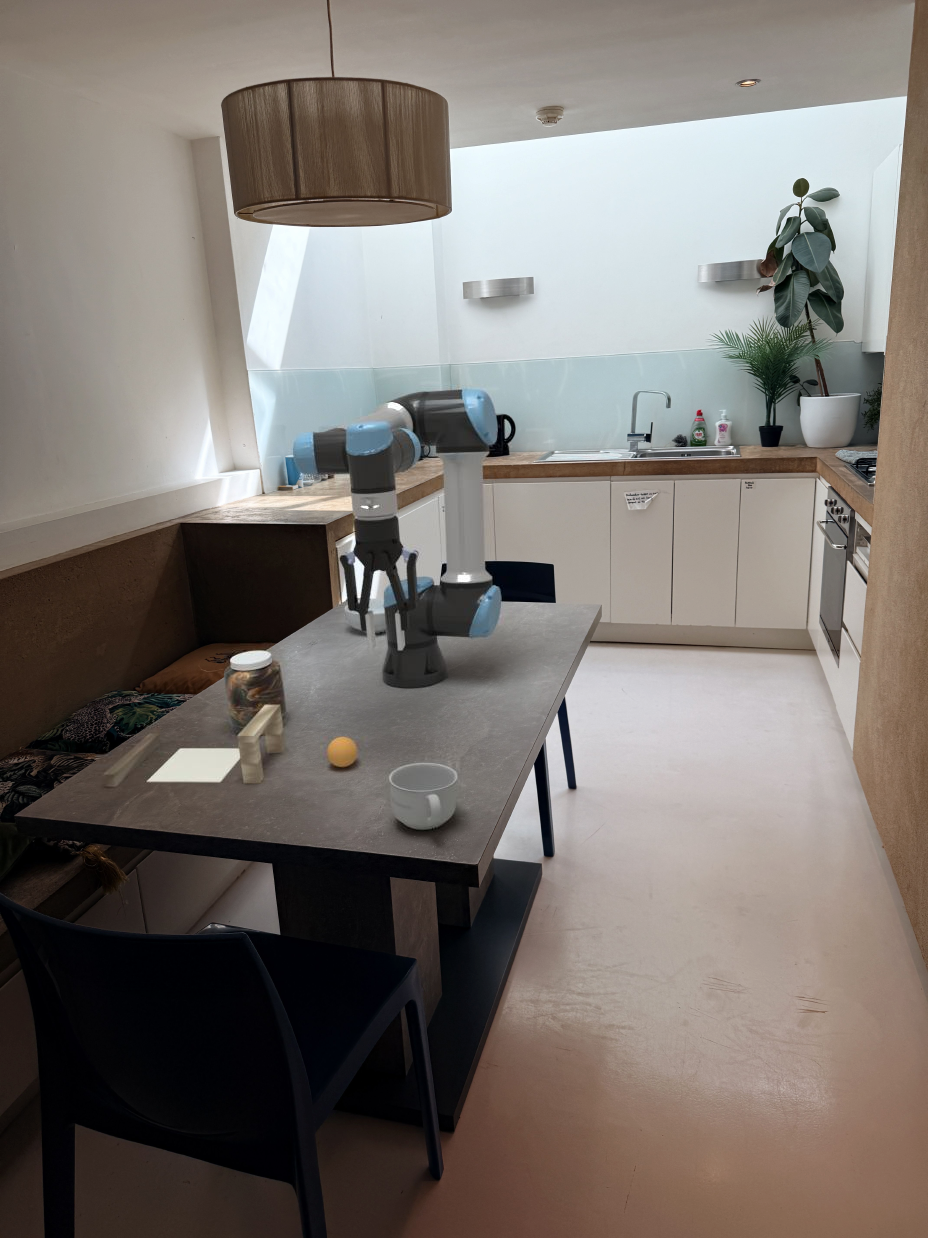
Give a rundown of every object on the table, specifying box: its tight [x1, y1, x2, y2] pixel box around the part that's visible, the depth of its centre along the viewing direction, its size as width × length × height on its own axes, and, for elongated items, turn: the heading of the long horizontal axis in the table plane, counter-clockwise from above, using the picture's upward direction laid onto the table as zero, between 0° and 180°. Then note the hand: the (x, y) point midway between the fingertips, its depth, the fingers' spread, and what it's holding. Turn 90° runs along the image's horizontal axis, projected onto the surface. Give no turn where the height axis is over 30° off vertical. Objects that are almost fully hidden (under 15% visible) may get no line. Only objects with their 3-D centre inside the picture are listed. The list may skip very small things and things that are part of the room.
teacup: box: [388, 762, 459, 831], centre depth 137 cm, size 14×11×8 cm
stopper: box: [102, 733, 162, 788], centre depth 165 cm, size 2×18×2 cm, turn 173°
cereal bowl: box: [344, 598, 386, 634], centre depth 243 cm, size 17×17×7 cm
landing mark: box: [146, 747, 241, 784], centre depth 164 cm, size 14×14×1 cm
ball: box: [326, 736, 358, 768], centre depth 160 cm, size 6×6×6 cm
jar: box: [223, 650, 288, 736], centre depth 179 cm, size 12×12×15 cm
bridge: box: [236, 705, 286, 784], centre depth 161 cm, size 3×14×9 cm, turn 173°
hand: (386, 647), depth 153 cm, fingers open, 4 cm apart
